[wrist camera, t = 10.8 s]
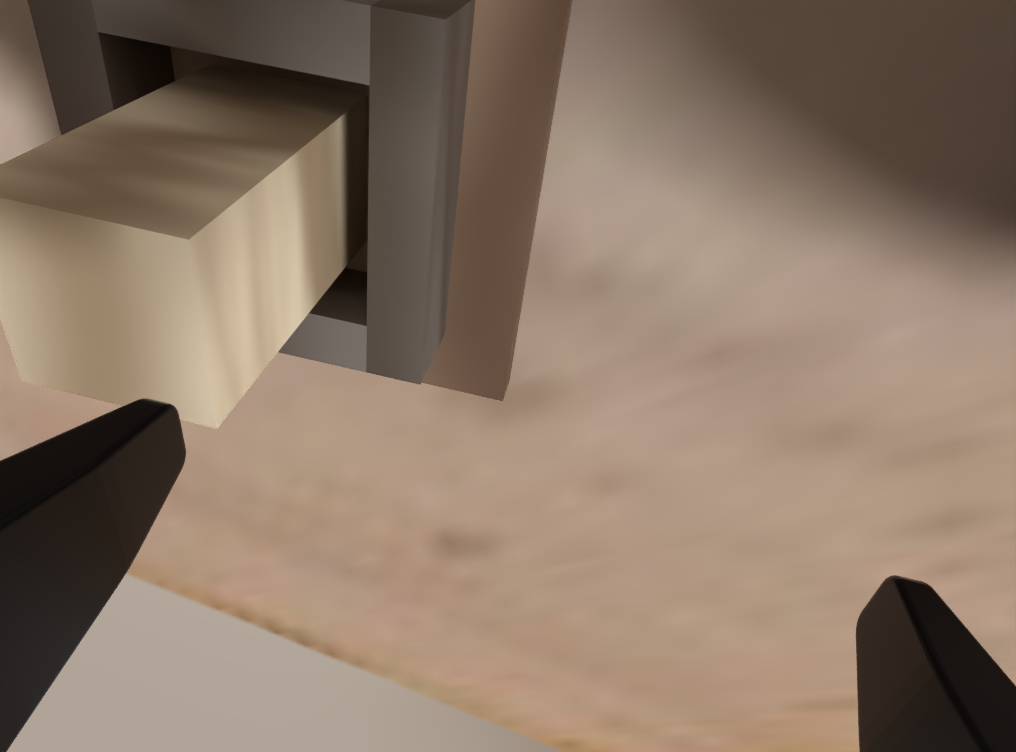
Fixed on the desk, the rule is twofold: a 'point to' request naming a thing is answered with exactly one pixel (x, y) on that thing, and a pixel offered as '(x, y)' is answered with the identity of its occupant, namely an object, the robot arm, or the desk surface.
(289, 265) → the maple peg
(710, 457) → the desk surface
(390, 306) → the socket holder
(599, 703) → the desk surface
